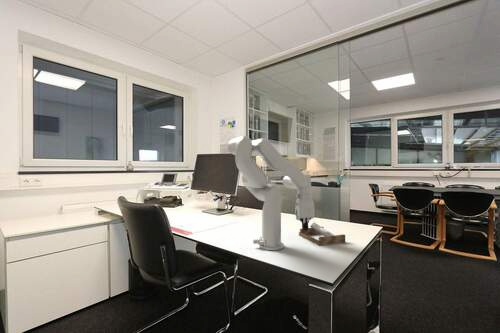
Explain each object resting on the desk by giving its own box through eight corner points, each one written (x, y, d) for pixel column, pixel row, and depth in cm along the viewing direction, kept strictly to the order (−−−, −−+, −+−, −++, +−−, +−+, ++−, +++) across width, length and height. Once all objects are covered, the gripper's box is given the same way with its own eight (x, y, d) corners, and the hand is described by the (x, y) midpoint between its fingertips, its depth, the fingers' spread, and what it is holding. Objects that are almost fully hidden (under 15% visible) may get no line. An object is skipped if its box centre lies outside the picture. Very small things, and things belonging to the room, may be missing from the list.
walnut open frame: (319, 245, 118) (319, 237, 118) (298, 235, 136) (298, 228, 136) (345, 242, 123) (345, 234, 123) (322, 233, 142) (322, 226, 142)
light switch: (335, 239, 123) (311, 223, 129) (330, 248, 124) (306, 232, 130) (337, 235, 131) (314, 220, 137) (332, 243, 132) (309, 228, 138)
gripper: (296, 198, 120) (296, 233, 120) (319, 196, 125) (320, 229, 125) (288, 196, 127) (289, 229, 127) (311, 195, 132) (312, 226, 132)
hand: (305, 229), depth 126 cm, fingers closed
